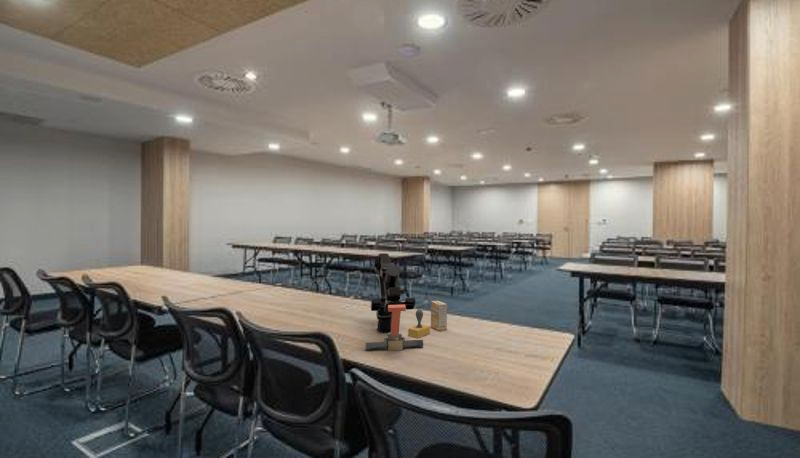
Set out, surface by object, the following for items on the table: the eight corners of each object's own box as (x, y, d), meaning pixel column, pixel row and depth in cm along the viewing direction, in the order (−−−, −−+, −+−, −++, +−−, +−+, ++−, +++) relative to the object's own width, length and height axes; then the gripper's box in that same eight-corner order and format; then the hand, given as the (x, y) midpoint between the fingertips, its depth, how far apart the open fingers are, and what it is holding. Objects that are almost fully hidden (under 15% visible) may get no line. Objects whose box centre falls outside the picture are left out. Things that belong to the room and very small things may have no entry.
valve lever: (385, 336, 162) (388, 305, 156) (402, 335, 163) (405, 304, 157) (386, 339, 160) (388, 307, 154) (403, 338, 161) (405, 307, 156)
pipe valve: (365, 348, 162) (365, 334, 162) (421, 344, 166) (421, 331, 166) (366, 352, 157) (366, 338, 157) (423, 348, 161) (423, 335, 161)
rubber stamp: (417, 338, 175) (417, 312, 175) (407, 336, 179) (407, 310, 179) (430, 333, 183) (430, 308, 182) (420, 331, 187) (420, 306, 186)
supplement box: (430, 326, 194) (430, 301, 193) (438, 325, 196) (438, 300, 195) (438, 331, 186) (438, 304, 186) (447, 330, 188) (447, 303, 188)
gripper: (371, 279, 162) (374, 312, 152) (414, 278, 166) (420, 310, 155) (369, 294, 171) (372, 326, 160) (410, 293, 174) (416, 324, 163)
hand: (395, 321), depth 160 cm, fingers closed, pressing on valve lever
